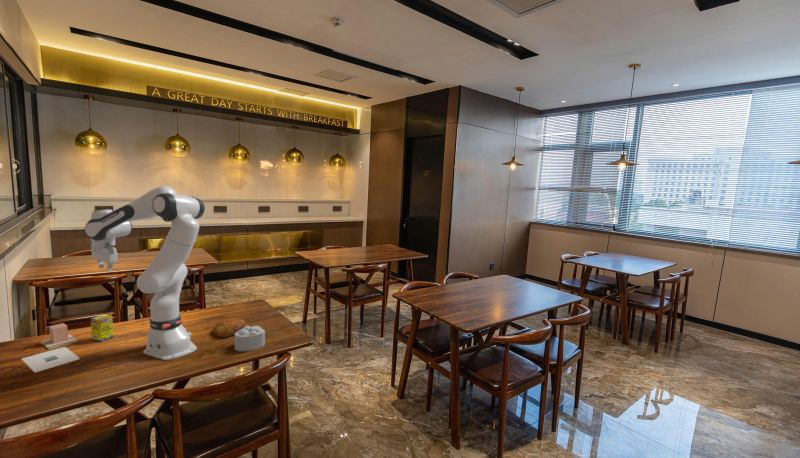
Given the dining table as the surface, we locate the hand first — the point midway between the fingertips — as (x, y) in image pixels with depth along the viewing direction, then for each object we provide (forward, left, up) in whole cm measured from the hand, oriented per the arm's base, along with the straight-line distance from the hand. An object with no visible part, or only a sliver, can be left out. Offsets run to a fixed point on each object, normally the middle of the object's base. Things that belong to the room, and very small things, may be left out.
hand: (105, 269), depth 178 cm
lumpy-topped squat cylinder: (-69, -31, -31) cm, 82 cm away
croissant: (-47, -35, -32) cm, 67 cm away
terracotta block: (0, +19, -30) cm, 36 cm away
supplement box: (-10, +6, -31) cm, 33 cm away
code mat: (-16, +26, -31) cm, 44 cm away
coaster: (0, +19, -31) cm, 36 cm away
